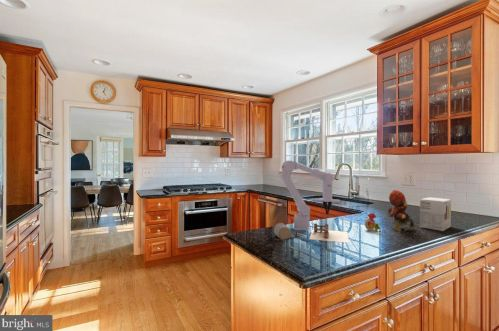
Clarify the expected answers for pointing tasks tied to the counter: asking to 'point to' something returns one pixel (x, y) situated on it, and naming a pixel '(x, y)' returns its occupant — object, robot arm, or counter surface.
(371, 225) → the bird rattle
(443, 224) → the supplement box
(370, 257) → the counter surface
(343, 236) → the card
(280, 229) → the ceramic mug
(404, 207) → the stuffed monkey
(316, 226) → the frame
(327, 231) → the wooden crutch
